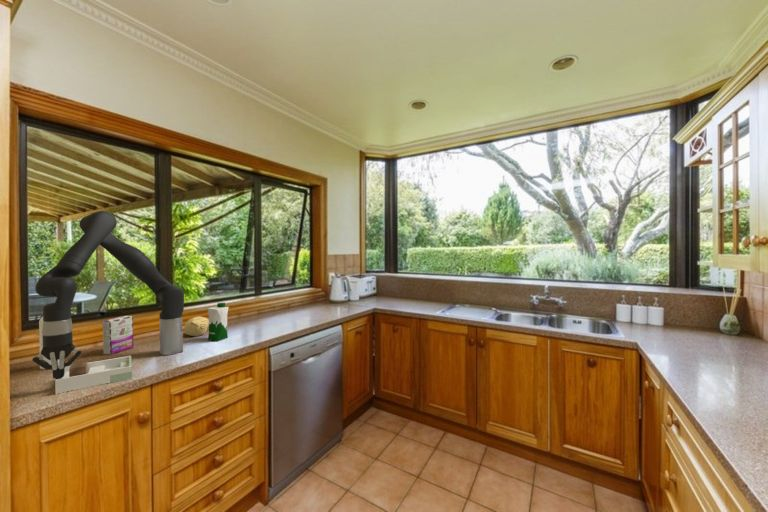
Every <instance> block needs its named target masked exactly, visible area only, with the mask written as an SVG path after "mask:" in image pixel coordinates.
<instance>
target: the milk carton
mask: <svg viewBox="0 0 768 512" xmlns="http://www.w3.org/2000/svg"><path fill="white" fill-rule="evenodd" d="M229 308H230V307H229V306H227V305H226V302H218V303H217V305H216V306H211V307H207V308H206V309H207V313H208V319H209V326H208V339H207V340H208V341H214V342H219V341H223V340H226V339H228V337H229V336H228V334H229V333H228V313H229ZM225 338H226V339H225Z"/></svg>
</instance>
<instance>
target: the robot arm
mask: <svg viewBox="0 0 768 512" xmlns="http://www.w3.org/2000/svg"><path fill="white" fill-rule="evenodd" d="M79 227H80V230H81V231H82V232H83V235H82V236H81V237H80V238H79V239H78V240H77V241H76V242H75V243H73V245H71V246H70V247H69V248H68V249H67V250H66V252H65V253H64V254H63V255H62V256H61V258H60V260H59V261H58V263H57V264H56V265H55V266H54V267H52V268H51V269H50V270H48V271H47V272H46V273H44V274H43V275H42V276H41V277H40V278H39V279H38V280H37V282H36V284H35V292H36V294H37V295H39V296H41V297H46V298H48V297H52V298H54V297H56V300H55V302H51V303H47V304H46V305H44V306H43V309H42V317H43V327H42V336H43V349H42V351H41V353H40V352H39V353H38V354H37V355H35V356H34V357H33V358H32V362H34V363H36V364H37V365H38V366H39V367H40V366H41V367H43V368H44V369H43V370H46V371H47V370H52V379H55V380H56V379H62V377H64V374H65V367H67V366H71V365H73V363H74V362H75V360H76V359H77V358H78V357H80V356H81V354H82V352H83V350H82V349H78V348H76V347H75V345H74V343H73V342H74V339H73V321H72V306H73V302H74V299H75V296H76V293H77V290H78V284H77V282H76V280H75V279H74V278H72V277H76V276H79V275H80V274H81V273H82V271H83V269H84V268H85V266H86V265H87V263H88V261H89V260H90V259H91V257H92V256H93V254H94V253H95V251H96V250H97V249H98V248H99V246H101V248H103V249H105V250H106V251H107V252H108V253H109V254H110V255H111V256H112V257H113V258H115V259H116V260H117V261H118V262H119V263H120V264H121V265H122V266H123V267H124V268H125V269H126V270H127V271H129V272H130V273H131V274H132V275H133V276H135V278H137V279H138V280H140V281H141V282H142V283H143V284H145V285H146V286H147V287H148V288H149V289H150V290H151V291H152V292H153V294H154V295H155V296H156V297H157V299H158V300H159V301H160V302H161V312H159V354H160V355H163V356H168V355H175V354H178V353H183V351H184V332H183V313H184V310H185V309H184V308H185V293H184V289H183V288H181V287H180V286H178V285H174V284H172V283H171V282H170V281H168V280H167V278H165V277H164V276H163V275H161V273H160V271H159V270H158V269H157V267H156V265H155V264H154V263H153V261H152V260H151V259H150V258H149V257H148V256H147V255H146V254H145V253H144V252H143V251H142V250H140V249H139V248H138V247H135V246H134V245H131V244H128V243H126V242H124V241H123V240H120V239H119V238H117V237H116V235H114V234H113V233H112V232H113V231H114V230H115V228H116V227H117V219H116V217H115V216H114V215H113V214H112V213H110V212H109V211H105V210H99V211H96V212H92V213H90V214H88V215H86V216H84V217H82V218H81V219H80V220H79ZM71 353H72V356H71V357H70V358H69V359H68V361H66V359H67V358H68V356H70V355H71ZM43 356H44V357H46V358H47V359H48V360H51V364H52V365H50V364H49V363H48V362H46V361H45V360H43V358H44V357H43ZM58 360H59V367H58Z"/></svg>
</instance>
